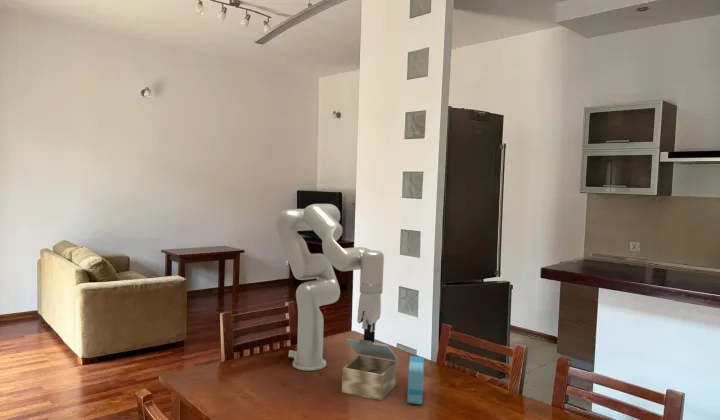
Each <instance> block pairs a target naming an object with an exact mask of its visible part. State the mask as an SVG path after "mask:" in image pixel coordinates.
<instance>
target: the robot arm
mask: <svg viewBox="0 0 720 420" xmlns="http://www.w3.org/2000/svg"><path fill="white" fill-rule="evenodd" d="M340 220H341V212H340V210H339V208H338V207H337V206H336V205H334V204H332V203H313V204H310V205H307V206H306V207H305V208H290V209H285V210H283V211H281V212H280V213H278V216H277V217H276V221H275V223H276V224H275V229H276V233H277V236H278V239H279V240H280V242H281V244H282V246H283V248H284V251H285V253H286V257H287V260H288V263H289V265H290V269H291V272H292V275H293V276H294V278H295V279H296V280H300V281H304V280H305V282H302V283H301V284H299V286H298V287H297V288H296V290H295V291H296V292H295V298H296V299H295V300H296V304H297V341H296V342H297V344H296V345H297V347H296V349H297V350H291V349H290V350H288V355H287V356H288V358H293V360H292V367H293V368H295V369H297V370H299V371H304V372H305V371H306V372H310V371H319V370H322V369H324V368H325V367H326V366H327V360H326V359H324V358H323V354H324V353H323V349H324V348H323V347H324V322H325V321H324V314H323V312H322V311H321V309H320V307H321V306H326V305H331V304H334V303H336V302H338V300H340V299H339V298H340V295H341V289H340V285H339V281H338V279H337V276H336V274H335V270H338V271H340V272H348V271H349V272H350V271H357V270H358V271H359V270H360V272H359V273H360V275H359V299H358V306H357V319H356V322H357V324H361V323H362V326H361V329H363V340H368V341H372V342H374V343H375V336H376V334H375V333H376V332H375V330H376V325H377V322H378V321H379V320H380V318H381V313H382V311H381V310H382V298H381V297H382V296H381V295H382V294H383V290H384V289H383V287H384V286H383V285H384V284H383V282H384V265H385V261H384V260H385V258H384V257H385V255H384V253H383V252H382V251H380V250H375V249H374V250H373V249H370V248H367V247H363V246H360V247H347V248H346V247H344V248H343V247H342V246H341V245H340V244H339V243H338V242H337V241H339V239H340V238H341V236H342V233H343V226H342V225H341V223H340ZM300 231H301V232H303V231H313V232H314V233H315V234H316V235H317V236H318V237H319V239H320V240H321V245H322V246H321V247H322V253H311V252H310V250H309V248H308V244H307V242H306V241H305V239H304V238H303V236H301V235H300V234H299V233H298V232H300ZM334 268H335V270H334ZM314 279H315V280H314ZM306 280H309V281H306Z"/></svg>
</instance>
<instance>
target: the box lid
mask: <svg viewBox="0 0 720 420" xmlns="http://www.w3.org/2000/svg"><path fill="white" fill-rule="evenodd" d="M345 341H346V342H347V343H348V344H349V345H350V346H351V348H352V349H353V351H354V352H356V354H357V355H359V356H365V357H370V358H376V359H382V360H388V361H393V362H398V361H399V358H398V357H397V355H396V354H395V353H394V351H393V350H392V348H391V347H390V345H389V344H384V343H378V342H375V341H374V342H372V341H368V340H364V339H353V338H347V337H346V338H345Z"/></svg>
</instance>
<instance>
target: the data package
mask: <svg viewBox="0 0 720 420" xmlns="http://www.w3.org/2000/svg"><path fill="white" fill-rule="evenodd" d="M409 359H410V360H409V364H408V377H407V404H414V405H422V404H423V392H424V377H425V376H424V373H425V357H424V356H413V355H412V356H410V358H409Z"/></svg>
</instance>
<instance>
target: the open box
mask: <svg viewBox="0 0 720 420" xmlns="http://www.w3.org/2000/svg"><path fill="white" fill-rule="evenodd" d="M397 362H398V361H394V360H389V359H383V358H377V357H371V356H365V355H358V356H357V357H355V358H354V359H353V360H351V361H350V362H349V363H347V364H346V365H345V366H344V367H342V372H341V374H342V376H341V382H342V383H341V393H345V394H350V395H353V396H358V397H363V398H368V399H373V400H377V401H378V400H379V401H383V399H385V397H387V396H388V394H389V393H390V392H391V391H392V390H393V389H394V388H395V386H396V384H397Z"/></svg>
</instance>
